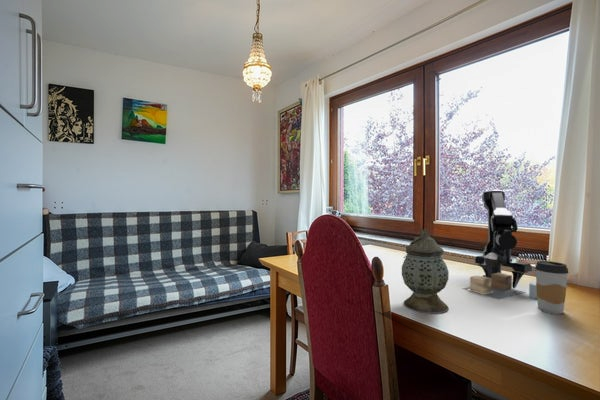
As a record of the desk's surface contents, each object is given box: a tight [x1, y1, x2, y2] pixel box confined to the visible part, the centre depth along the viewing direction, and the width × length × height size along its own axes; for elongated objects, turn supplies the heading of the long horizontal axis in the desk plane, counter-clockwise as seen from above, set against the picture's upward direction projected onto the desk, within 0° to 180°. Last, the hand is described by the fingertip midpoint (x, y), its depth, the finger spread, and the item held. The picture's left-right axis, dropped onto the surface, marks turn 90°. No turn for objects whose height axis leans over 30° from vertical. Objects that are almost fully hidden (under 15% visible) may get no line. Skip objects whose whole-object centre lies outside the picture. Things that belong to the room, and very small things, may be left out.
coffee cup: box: [534, 260, 569, 315], centre depth 99 cm, size 8×8×15 cm
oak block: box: [469, 274, 491, 293], centre depth 118 cm, size 5×5×5 cm
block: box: [528, 281, 537, 299], centre depth 111 cm, size 5×5×5 cm
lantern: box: [401, 229, 450, 315], centre depth 101 cm, size 14×14×25 cm
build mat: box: [461, 286, 527, 300], centre depth 118 cm, size 18×14×1 cm
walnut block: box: [491, 272, 513, 290], centre depth 122 cm, size 5×5×5 cm
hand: (501, 285), depth 122 cm, fingers open, 9 cm apart
